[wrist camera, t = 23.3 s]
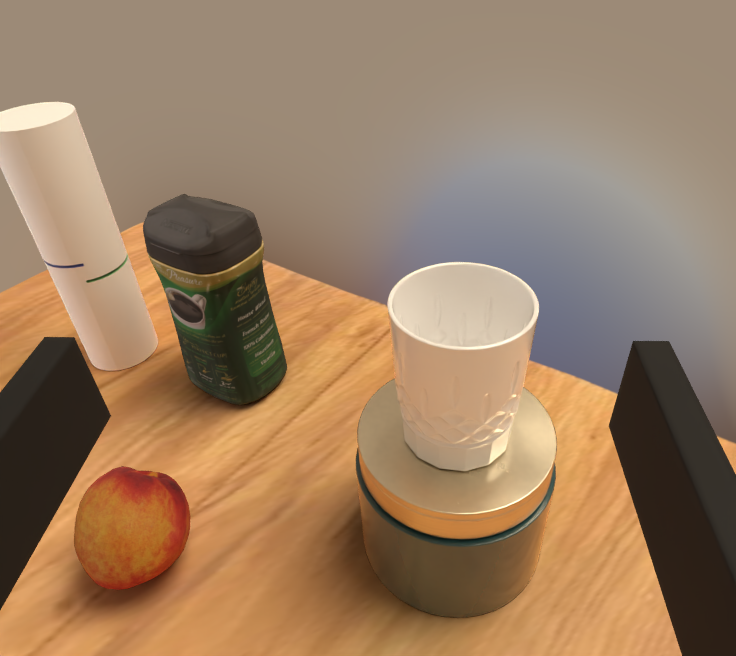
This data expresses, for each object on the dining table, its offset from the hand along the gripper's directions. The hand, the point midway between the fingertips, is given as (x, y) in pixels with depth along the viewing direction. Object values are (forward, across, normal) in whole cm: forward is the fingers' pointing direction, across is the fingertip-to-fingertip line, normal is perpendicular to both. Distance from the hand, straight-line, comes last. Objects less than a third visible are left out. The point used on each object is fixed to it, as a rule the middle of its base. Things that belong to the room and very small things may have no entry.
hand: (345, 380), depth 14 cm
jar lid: (+15, +4, -19) cm, 25 cm away
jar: (+15, +4, -30) cm, 34 cm away
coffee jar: (+32, -17, -30) cm, 47 cm away
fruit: (+12, -18, -30) cm, 37 cm away
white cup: (+15, +4, -19) cm, 25 cm away
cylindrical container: (+36, -30, -30) cm, 56 cm away
